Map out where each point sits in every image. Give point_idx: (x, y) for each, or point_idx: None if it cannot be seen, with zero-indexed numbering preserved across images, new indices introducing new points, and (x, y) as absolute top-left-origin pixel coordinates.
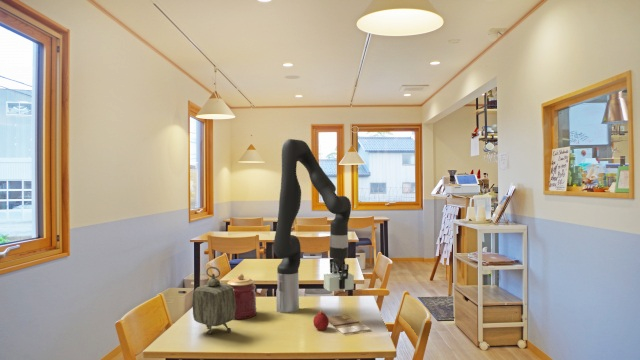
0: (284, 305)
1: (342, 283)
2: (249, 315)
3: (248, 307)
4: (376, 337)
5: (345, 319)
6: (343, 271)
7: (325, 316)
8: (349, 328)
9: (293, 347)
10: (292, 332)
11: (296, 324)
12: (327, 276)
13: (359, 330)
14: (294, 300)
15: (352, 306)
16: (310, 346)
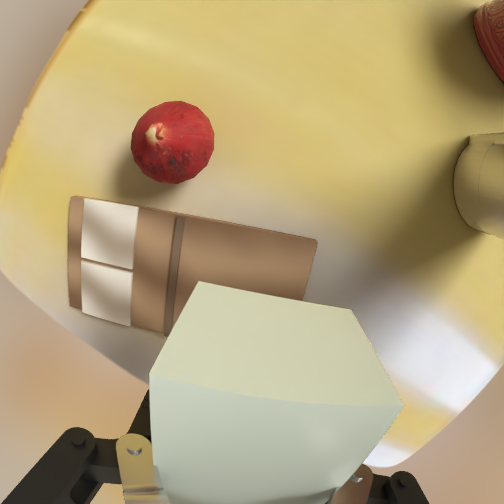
0: (489, 147)
1: (138, 419)
2: (481, 37)
3: (498, 27)
4: (49, 290)
5: None
6: (22, 487)
7: (136, 153)
8: (113, 252)
9: (121, 4)
10: (254, 42)
11: (339, 105)
12: (246, 394)
13: (81, 270)
14: (491, 192)
15: None
16: (90, 52)
